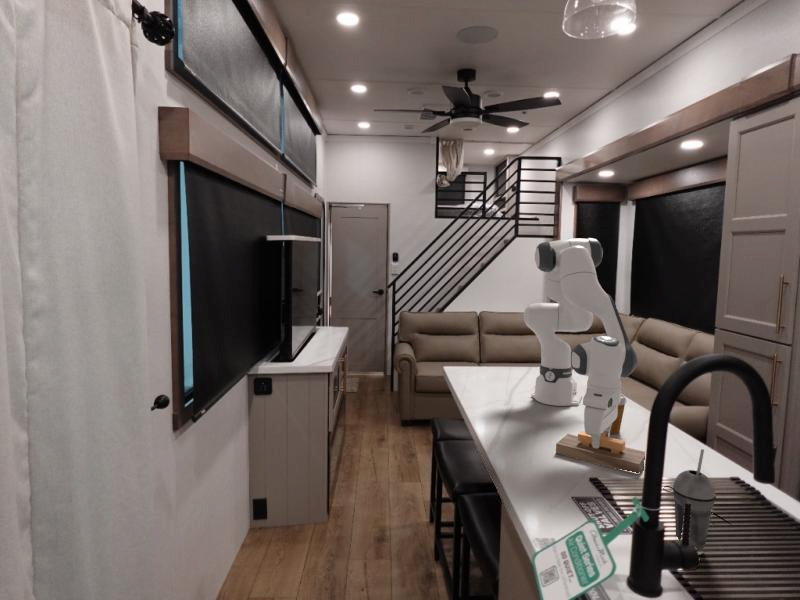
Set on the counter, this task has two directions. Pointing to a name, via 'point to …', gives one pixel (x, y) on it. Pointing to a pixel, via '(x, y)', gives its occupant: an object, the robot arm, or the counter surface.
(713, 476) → the counter surface
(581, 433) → the orange piece
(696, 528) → the beverage cup
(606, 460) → the rail
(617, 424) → the disposable coffee cup
